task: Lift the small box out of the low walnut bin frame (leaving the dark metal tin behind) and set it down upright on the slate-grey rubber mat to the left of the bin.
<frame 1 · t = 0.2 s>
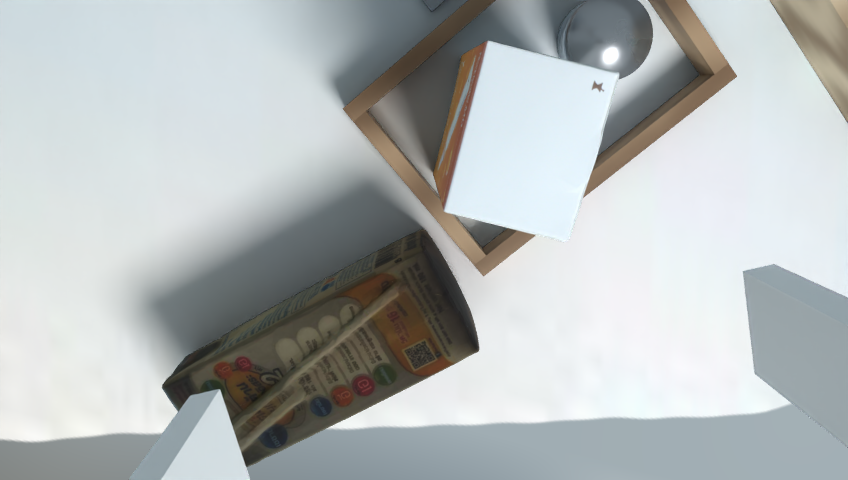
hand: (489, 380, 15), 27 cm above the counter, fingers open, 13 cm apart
tin: (595, 41, 39), resting in bin frame
bin frame: (533, 92, 40), on the counter
small box: (491, 127, 40), resting in bin frame
beverage carton: (332, 331, 44), on the counter
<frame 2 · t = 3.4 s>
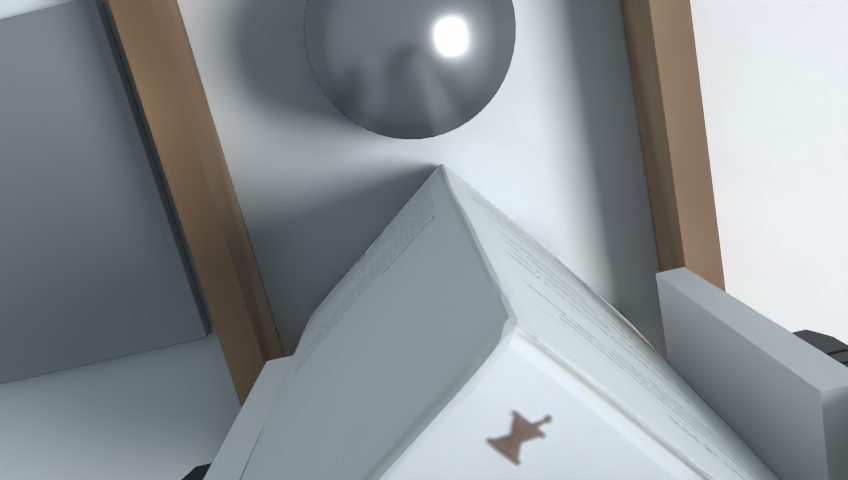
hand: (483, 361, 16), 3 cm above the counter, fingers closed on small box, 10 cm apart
tin: (409, 43, 17), resting in bin frame
bin frame: (448, 212, 18), on the counter
small box: (471, 317, 19), resting in bin frame, touching gripper
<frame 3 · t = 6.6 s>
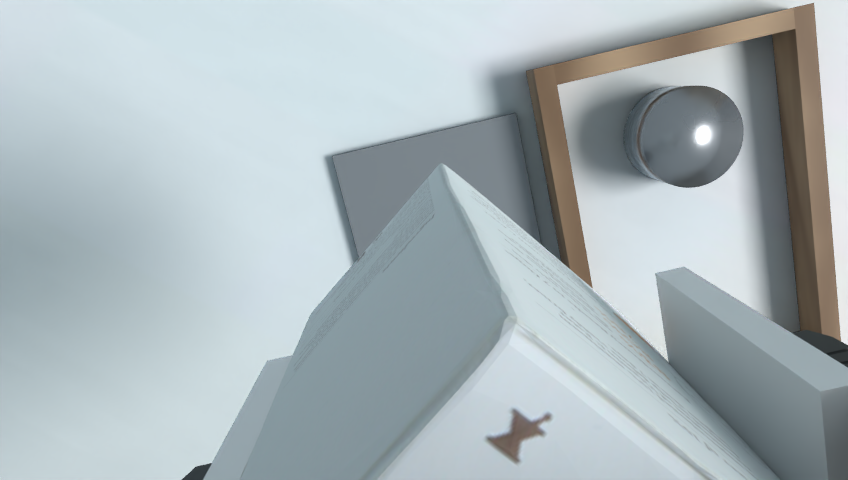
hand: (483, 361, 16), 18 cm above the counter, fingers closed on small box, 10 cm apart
mat: (443, 223, 34), on the counter
tin: (668, 134, 33), resting in bin frame
bin frame: (681, 222, 34), on the counter
small box: (471, 316, 19), point 15 cm above the counter, touching gripper
when the fingers open (4 cm above the counter, at t = 9.9 s): small box stays where it is, resting on mat.
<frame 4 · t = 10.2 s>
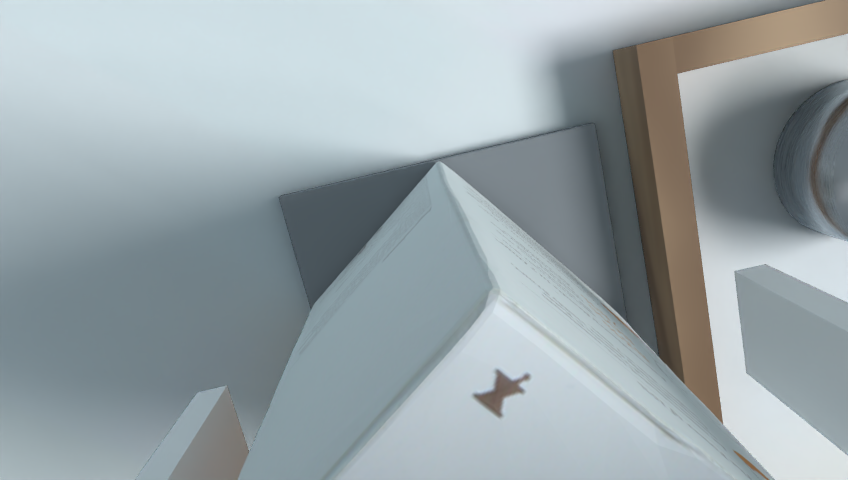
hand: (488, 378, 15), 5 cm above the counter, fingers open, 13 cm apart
mat: (468, 306, 20), on the counter
small box: (466, 308, 20), resting on mat
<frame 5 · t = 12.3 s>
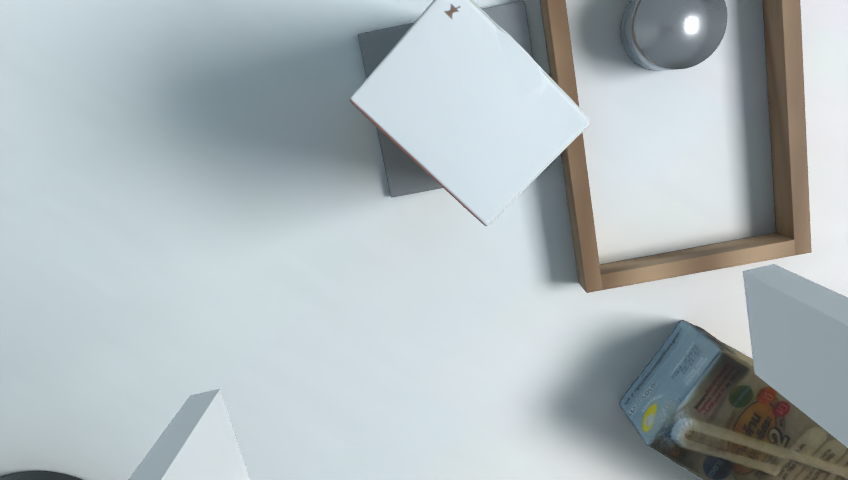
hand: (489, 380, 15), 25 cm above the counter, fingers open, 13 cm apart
mat: (454, 102, 38), on the counter
tin: (661, 27, 37), resting in bin frame
bin frame: (670, 111, 38), on the counter
small box: (454, 102, 38), resting on mat
beverage carton: (753, 420, 44), on the counter
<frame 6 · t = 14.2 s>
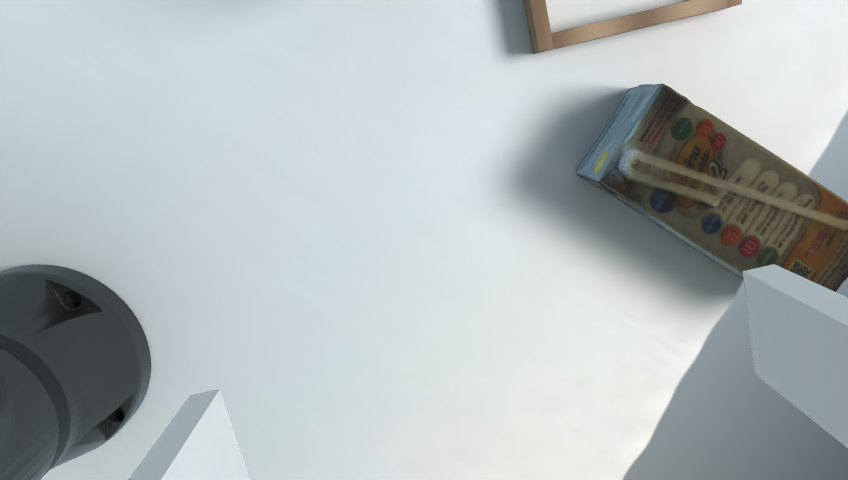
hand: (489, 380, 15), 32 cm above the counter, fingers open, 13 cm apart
beverage carton: (700, 192, 47), on the counter
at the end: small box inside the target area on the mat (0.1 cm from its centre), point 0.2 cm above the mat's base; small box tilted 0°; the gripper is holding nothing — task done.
